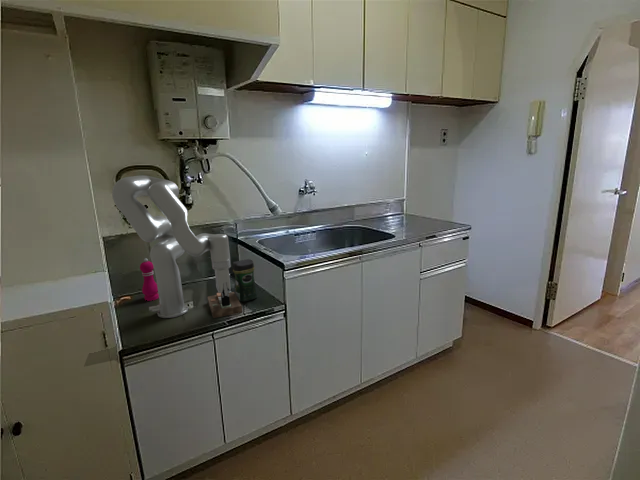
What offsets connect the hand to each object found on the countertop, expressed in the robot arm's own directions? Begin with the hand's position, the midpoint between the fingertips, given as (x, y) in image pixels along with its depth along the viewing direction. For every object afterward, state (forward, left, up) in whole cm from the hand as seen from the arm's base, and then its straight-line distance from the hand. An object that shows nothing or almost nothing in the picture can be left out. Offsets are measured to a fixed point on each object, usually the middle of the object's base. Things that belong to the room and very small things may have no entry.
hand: (226, 305), depth 158 cm
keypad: (0, +6, -3) cm, 6 cm away
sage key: (0, 0, -3) cm, 3 cm away
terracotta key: (0, +11, -2) cm, 11 cm away
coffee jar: (+11, +11, -4) cm, 16 cm away
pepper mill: (-30, +33, -4) cm, 45 cm away
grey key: (0, +6, -2) cm, 6 cm away
